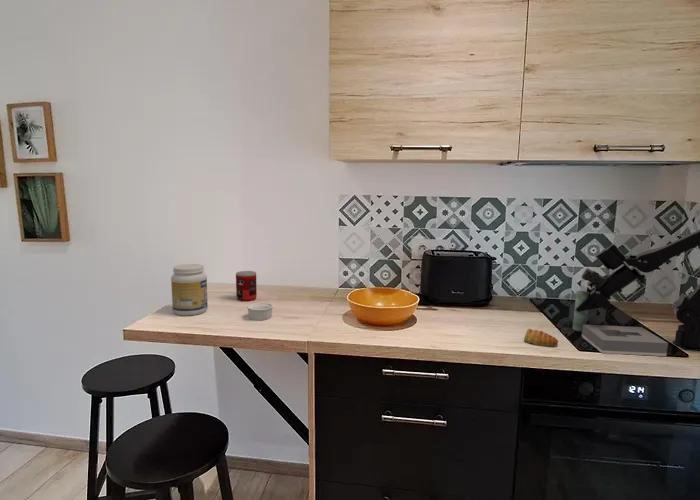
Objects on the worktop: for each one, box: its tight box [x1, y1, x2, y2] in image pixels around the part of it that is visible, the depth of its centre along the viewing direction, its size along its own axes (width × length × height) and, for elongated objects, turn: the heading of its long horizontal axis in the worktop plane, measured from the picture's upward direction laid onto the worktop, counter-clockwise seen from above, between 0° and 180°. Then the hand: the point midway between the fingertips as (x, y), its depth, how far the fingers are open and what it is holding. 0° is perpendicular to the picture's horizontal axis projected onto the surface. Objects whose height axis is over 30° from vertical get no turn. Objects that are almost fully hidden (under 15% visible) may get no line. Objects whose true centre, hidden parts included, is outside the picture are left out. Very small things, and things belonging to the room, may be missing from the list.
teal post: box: [572, 290, 589, 333], centre depth 151 cm, size 4×4×13 cm
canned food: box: [235, 270, 258, 303], centre depth 181 cm, size 8×8×11 cm
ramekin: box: [246, 302, 274, 322], centre depth 159 cm, size 9×9×4 cm
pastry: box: [523, 328, 559, 348], centre depth 139 cm, size 9×7×4 cm
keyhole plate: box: [581, 324, 669, 357], centre depth 138 cm, size 18×14×4 cm
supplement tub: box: [170, 263, 209, 317], centre depth 163 cm, size 12×12×17 cm
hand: (576, 308), depth 152 cm, fingers closed on teal post, 4 cm apart
